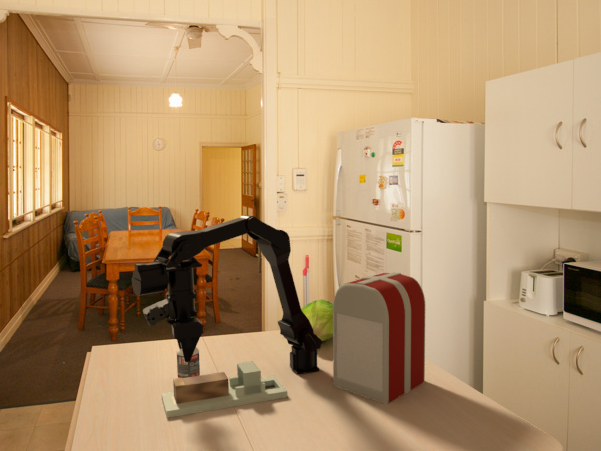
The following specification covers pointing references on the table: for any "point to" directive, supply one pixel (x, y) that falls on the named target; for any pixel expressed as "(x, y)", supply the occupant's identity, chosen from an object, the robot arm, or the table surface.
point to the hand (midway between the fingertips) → (184, 354)
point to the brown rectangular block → (200, 387)
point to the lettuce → (320, 318)
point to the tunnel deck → (231, 392)
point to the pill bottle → (188, 365)
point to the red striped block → (379, 336)
